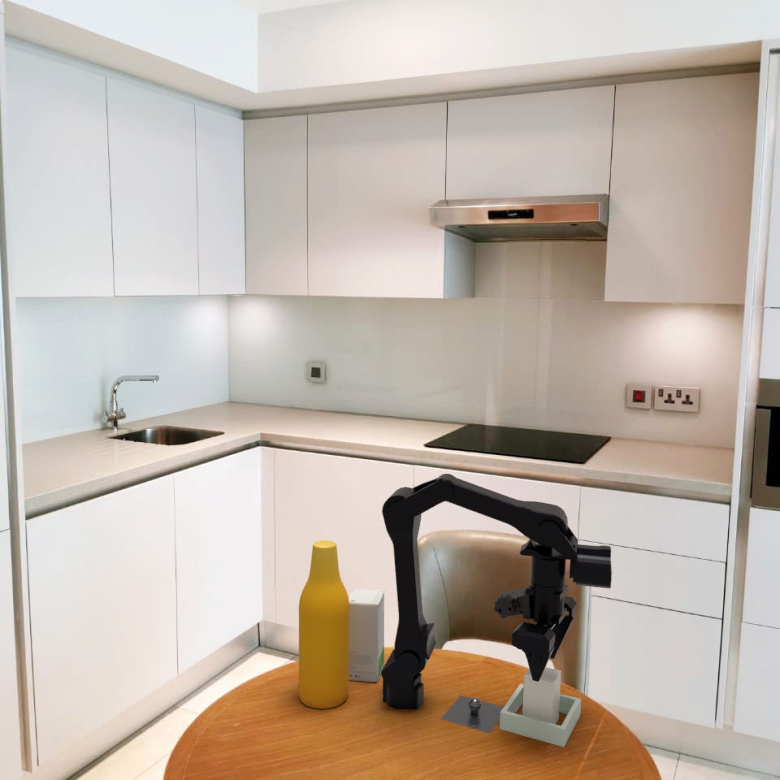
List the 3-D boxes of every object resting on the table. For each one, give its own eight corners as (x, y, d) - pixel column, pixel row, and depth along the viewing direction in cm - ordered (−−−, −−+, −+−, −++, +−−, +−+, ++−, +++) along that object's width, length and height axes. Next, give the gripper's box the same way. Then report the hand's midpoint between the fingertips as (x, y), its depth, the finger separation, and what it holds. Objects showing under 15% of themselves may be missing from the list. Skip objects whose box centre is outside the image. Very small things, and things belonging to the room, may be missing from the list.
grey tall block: (550, 733, 132) (553, 683, 131) (522, 725, 134) (524, 676, 133) (558, 719, 136) (561, 670, 135) (530, 712, 139) (532, 664, 138)
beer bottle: (335, 714, 138) (337, 555, 135) (289, 703, 142) (289, 548, 138) (356, 690, 147) (358, 540, 143) (312, 680, 150) (313, 533, 146)
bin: (499, 734, 133) (500, 712, 133) (519, 704, 143) (520, 683, 142) (563, 752, 128) (564, 729, 128) (580, 720, 138) (581, 698, 137)
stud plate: (440, 724, 136) (441, 703, 135) (460, 700, 144) (460, 680, 143) (489, 738, 132) (490, 717, 131) (507, 713, 140) (508, 693, 139)
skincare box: (377, 683, 149) (378, 605, 147) (343, 680, 150) (344, 602, 148) (384, 663, 158) (386, 588, 156) (352, 660, 159) (353, 586, 157)
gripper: (518, 556, 144) (515, 637, 146) (482, 590, 127) (479, 681, 129) (579, 567, 139) (575, 651, 141) (550, 604, 122) (546, 698, 124)
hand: (543, 669), depth 134 cm, fingers open, 9 cm apart
